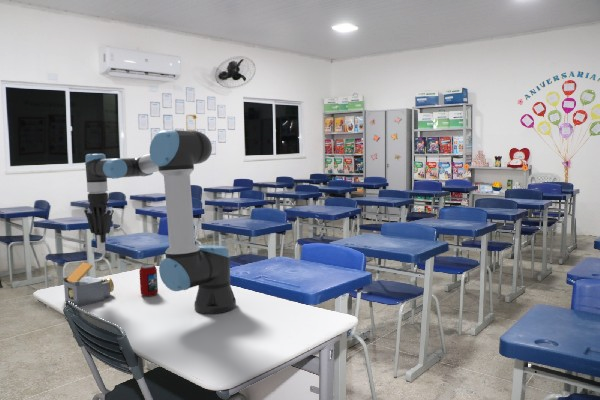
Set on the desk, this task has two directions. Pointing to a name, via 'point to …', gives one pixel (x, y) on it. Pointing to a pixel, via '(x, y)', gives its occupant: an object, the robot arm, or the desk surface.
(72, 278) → the plate
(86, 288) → the hitch block
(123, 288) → the desk surface
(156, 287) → the beverage can
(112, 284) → the pin
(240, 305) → the desk surface
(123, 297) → the desk surface
